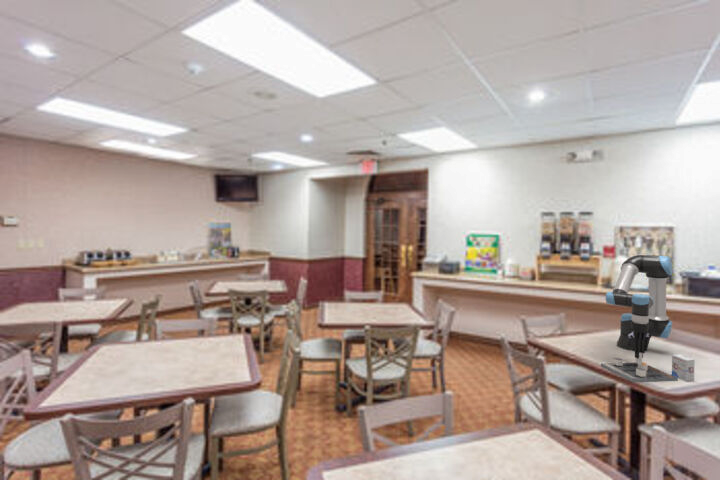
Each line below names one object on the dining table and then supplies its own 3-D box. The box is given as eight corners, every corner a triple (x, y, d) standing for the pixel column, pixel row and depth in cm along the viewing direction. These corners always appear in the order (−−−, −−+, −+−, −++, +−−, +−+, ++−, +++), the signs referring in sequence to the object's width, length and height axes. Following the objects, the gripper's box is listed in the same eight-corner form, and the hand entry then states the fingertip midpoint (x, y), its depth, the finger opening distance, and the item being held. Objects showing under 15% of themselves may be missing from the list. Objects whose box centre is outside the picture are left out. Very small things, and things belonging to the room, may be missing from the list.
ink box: (670, 375, 197) (671, 354, 196) (679, 374, 197) (679, 353, 197) (686, 381, 188) (686, 359, 188) (694, 381, 189) (695, 359, 188)
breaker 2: (641, 374, 193) (641, 367, 193) (645, 376, 190) (646, 369, 190) (635, 374, 193) (636, 367, 192) (640, 376, 190) (640, 370, 189)
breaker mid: (642, 368, 201) (642, 362, 201) (647, 370, 198) (647, 364, 198) (637, 368, 201) (638, 362, 201) (642, 370, 198) (642, 364, 198)
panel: (641, 364, 211) (641, 362, 211) (677, 380, 189) (677, 377, 189) (600, 366, 209) (600, 363, 209) (632, 382, 187) (632, 379, 187)
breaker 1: (618, 363, 208) (618, 357, 208) (622, 365, 205) (623, 359, 205) (613, 363, 208) (614, 357, 207) (618, 365, 205) (618, 359, 204)
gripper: (644, 320, 203) (643, 360, 204) (623, 320, 201) (622, 361, 203) (656, 323, 195) (655, 365, 196) (634, 324, 194) (633, 366, 195)
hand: (638, 363), depth 199 cm, fingers closed
